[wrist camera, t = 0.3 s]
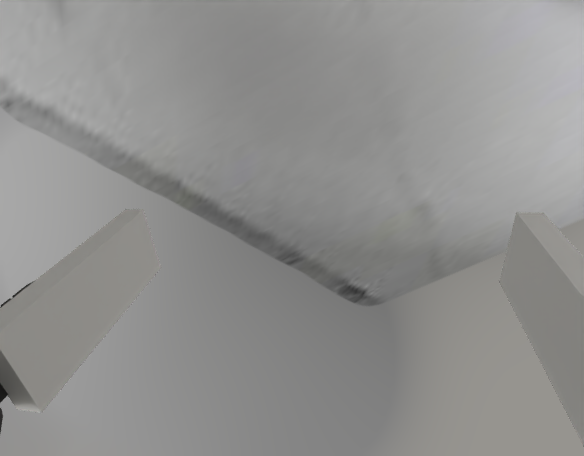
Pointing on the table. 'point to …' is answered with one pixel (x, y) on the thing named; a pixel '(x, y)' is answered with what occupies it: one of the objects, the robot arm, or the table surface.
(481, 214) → the table surface
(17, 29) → the table surface
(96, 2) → the table surface
